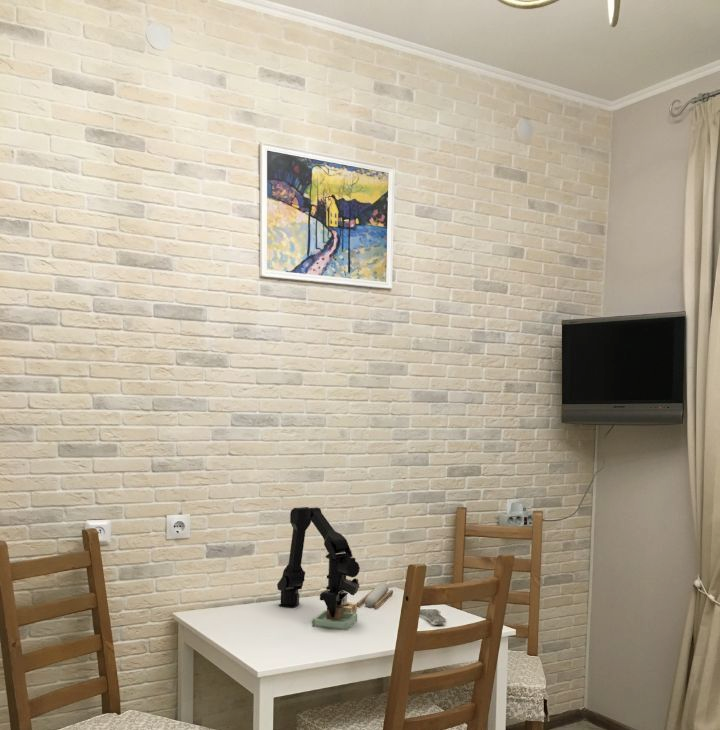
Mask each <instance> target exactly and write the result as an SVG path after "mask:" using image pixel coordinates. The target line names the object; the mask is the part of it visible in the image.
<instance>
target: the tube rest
mask: <svg viewBox="0 0 720 730" xmlns="http://www.w3.org/2000/svg"><path fill="white" fill-rule="evenodd" d="M374 589H375V588H373V589H372V590H370V591H369V592H368V593H367V594H366V595H365V596H364V597H362V598H360V600H359V601H357V602H356V603H357V607H359V608H361V607H362V606H363V605H365V599H366V598H367V596H368V595H369V594H370V593H371V592H372V591H373V590H374ZM392 594H393V595H394V590H393V589H390V590H388V592H387V593H386V594H385V595H384V596H383V597H382V598H381V599H380V600H379V601H378V602H377V603H376V604H375V605H374V607H373V608H374V610H376V609H377V608H378V607H379V606H380V605H381V604H382V603H383V602H384V603H386V602H387V601H388V600H389V599H390V598H391V597H392V596H393V595H392ZM391 595H392V596H391ZM390 596H391V597H390ZM389 597H390V598H389ZM388 598H389V599H388ZM387 599H388V600H387ZM386 600H387V601H386ZM384 603H383V604H384ZM362 604H363V605H362ZM383 604H382V605H383ZM361 605H362V606H361ZM382 605H381V606H382ZM360 606H361V607H360ZM381 606H380V607H381ZM380 607H379V608H380ZM379 608H378V609H379ZM378 609H377V610H378Z"/></svg>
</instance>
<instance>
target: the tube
mask: <svg viewBox="0 0 720 730" xmlns="http://www.w3.org/2000/svg"><path fill="white" fill-rule="evenodd" d="M373 589H374V590H373ZM373 589H372V590H373V591H372V590H371V591H372V592H371V591H370V592H371V593H370V592H369V593H370V594H369V595H368V596H367V598H366V599H365V603H364V605H366V606H367V607H368V608H374V605H375V604H376V603H377V602H378V601H379V600H380V599H381V598H382V597H384V596H385V595H386V594H387V593H388V592H389V589H390V588H389V585H388V584H387V583H386V582H383V581H379V583H378V584H377V585H376V586H375V588H373Z"/></svg>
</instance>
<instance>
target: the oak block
mask: <svg viewBox="0 0 720 730" xmlns="http://www.w3.org/2000/svg"><path fill="white" fill-rule="evenodd" d="M357 611H358V608H357V602H348V601H347V606H344V613H354V614H357V613H358V612H357ZM356 612H357V613H356Z"/></svg>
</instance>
